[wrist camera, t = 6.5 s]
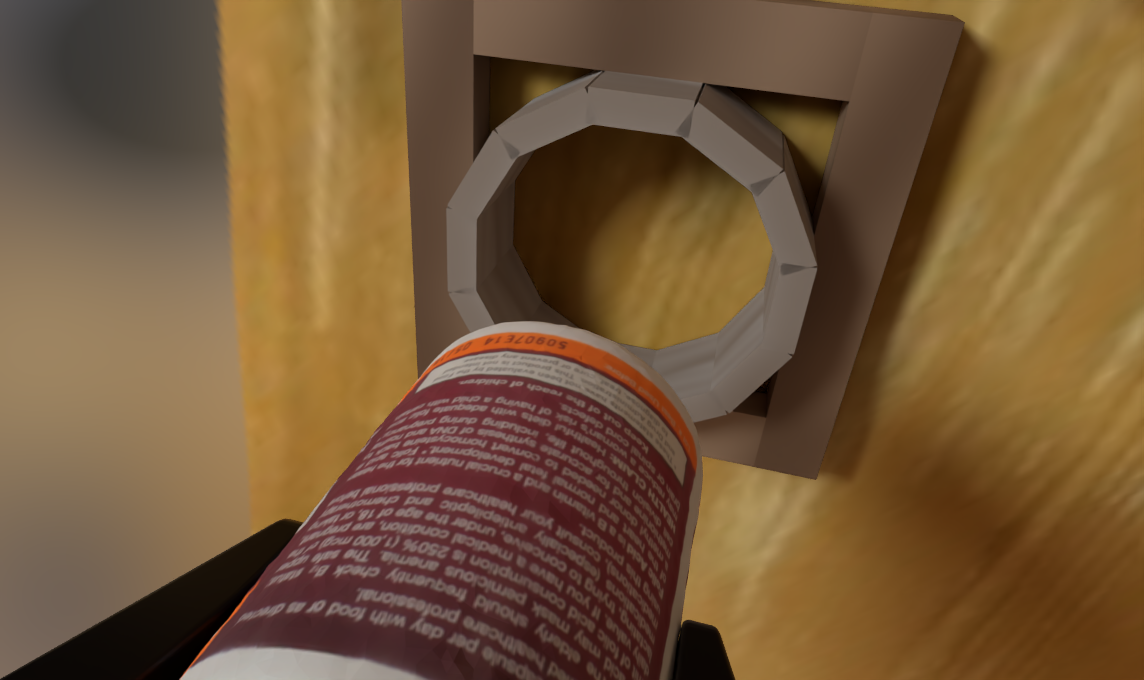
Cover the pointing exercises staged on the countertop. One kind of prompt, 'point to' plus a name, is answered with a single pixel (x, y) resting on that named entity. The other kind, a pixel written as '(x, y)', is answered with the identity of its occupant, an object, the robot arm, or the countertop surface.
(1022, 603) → the countertop surface
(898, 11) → the socket board
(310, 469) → the countertop surface
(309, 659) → the pill bottle
